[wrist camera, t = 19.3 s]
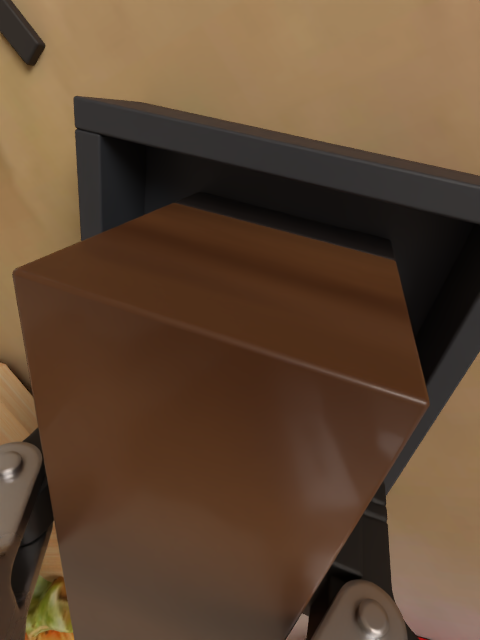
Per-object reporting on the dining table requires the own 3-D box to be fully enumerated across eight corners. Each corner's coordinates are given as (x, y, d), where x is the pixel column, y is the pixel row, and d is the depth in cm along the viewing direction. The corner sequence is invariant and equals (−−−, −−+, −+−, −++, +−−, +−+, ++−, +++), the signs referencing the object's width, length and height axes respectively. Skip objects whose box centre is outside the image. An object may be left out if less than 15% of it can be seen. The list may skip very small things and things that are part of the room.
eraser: (198, 190, 9) (8, 268, 4) (392, 239, 9) (433, 405, 4) (167, 475, 16) (73, 644, 11) (278, 519, 15) (234, 724, 10)
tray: (139, 101, 9) (71, 95, 7) (517, 183, 8) (575, 207, 6) (130, 468, 17) (96, 518, 15) (318, 544, 16) (311, 612, 14)
